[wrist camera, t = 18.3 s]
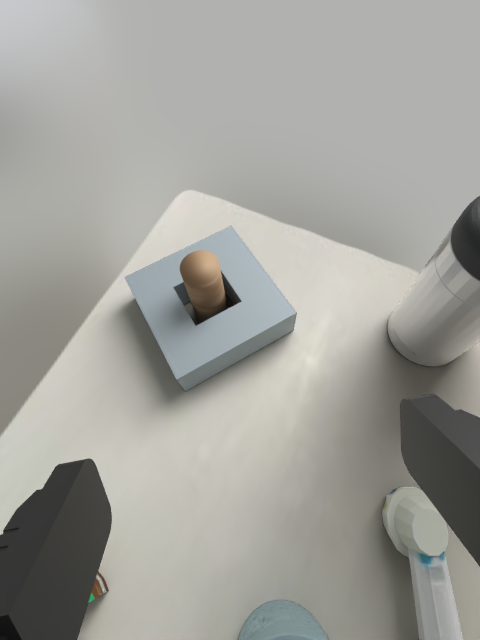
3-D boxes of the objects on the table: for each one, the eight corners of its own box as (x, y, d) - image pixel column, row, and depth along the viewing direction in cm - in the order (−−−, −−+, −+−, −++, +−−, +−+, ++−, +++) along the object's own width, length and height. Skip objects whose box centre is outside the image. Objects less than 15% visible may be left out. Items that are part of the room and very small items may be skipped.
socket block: (234, 248, 53) (231, 225, 49) (293, 330, 46) (296, 312, 42) (136, 296, 50) (124, 277, 46) (185, 391, 43) (176, 379, 39)
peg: (218, 294, 50) (208, 244, 40) (234, 317, 48) (226, 271, 38) (191, 308, 49) (173, 261, 39) (205, 333, 47) (190, 290, 37)
